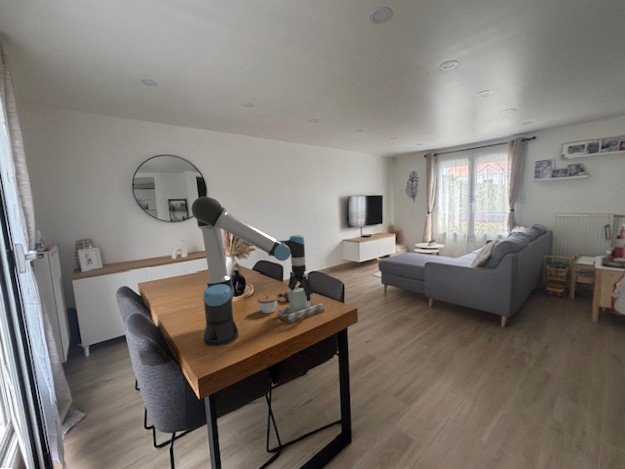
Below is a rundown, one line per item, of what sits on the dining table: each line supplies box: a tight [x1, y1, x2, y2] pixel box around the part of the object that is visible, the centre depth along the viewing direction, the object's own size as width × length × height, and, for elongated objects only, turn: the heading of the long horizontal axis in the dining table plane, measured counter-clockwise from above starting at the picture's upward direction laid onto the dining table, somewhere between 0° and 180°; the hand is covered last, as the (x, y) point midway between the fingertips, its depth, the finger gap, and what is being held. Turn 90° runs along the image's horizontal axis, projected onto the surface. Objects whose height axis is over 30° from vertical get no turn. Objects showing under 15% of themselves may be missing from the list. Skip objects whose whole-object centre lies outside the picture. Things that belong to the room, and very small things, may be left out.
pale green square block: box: [288, 287, 313, 314], centre depth 140 cm, size 4×12×12 cm, turn 129°
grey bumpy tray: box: [277, 303, 325, 325], centre depth 141 cm, size 22×13×4 cm, turn 129°
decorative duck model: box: [276, 287, 300, 302], centre depth 165 cm, size 15×8×15 cm
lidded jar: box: [257, 294, 278, 314], centre depth 147 cm, size 11×11×9 cm
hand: (300, 303), depth 140 cm, fingers open, 12 cm apart
